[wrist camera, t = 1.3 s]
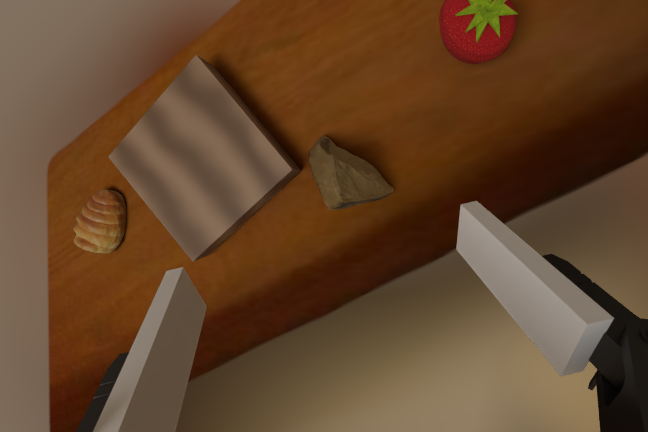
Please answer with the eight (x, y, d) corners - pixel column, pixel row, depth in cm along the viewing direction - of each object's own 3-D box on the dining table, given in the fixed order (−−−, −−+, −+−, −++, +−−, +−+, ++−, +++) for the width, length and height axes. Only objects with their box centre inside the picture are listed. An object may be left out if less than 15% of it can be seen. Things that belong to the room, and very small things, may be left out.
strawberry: (462, 3, 32) (496, -75, 23) (505, 54, 32) (560, -1, 22) (418, 42, 34) (432, -15, 24) (459, 92, 34) (492, 55, 24)
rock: (283, 145, 36) (306, 223, 35) (305, 108, 28) (336, 207, 27) (357, 135, 40) (379, 204, 39) (394, 100, 33) (422, 185, 32)
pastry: (101, 181, 44) (75, 181, 41) (137, 199, 44) (115, 200, 40) (86, 237, 46) (61, 242, 42) (122, 255, 45) (99, 261, 42)
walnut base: (214, 67, 39) (196, 54, 35) (301, 170, 38) (292, 169, 34) (133, 159, 43) (108, 156, 39) (210, 254, 42) (192, 261, 38)
